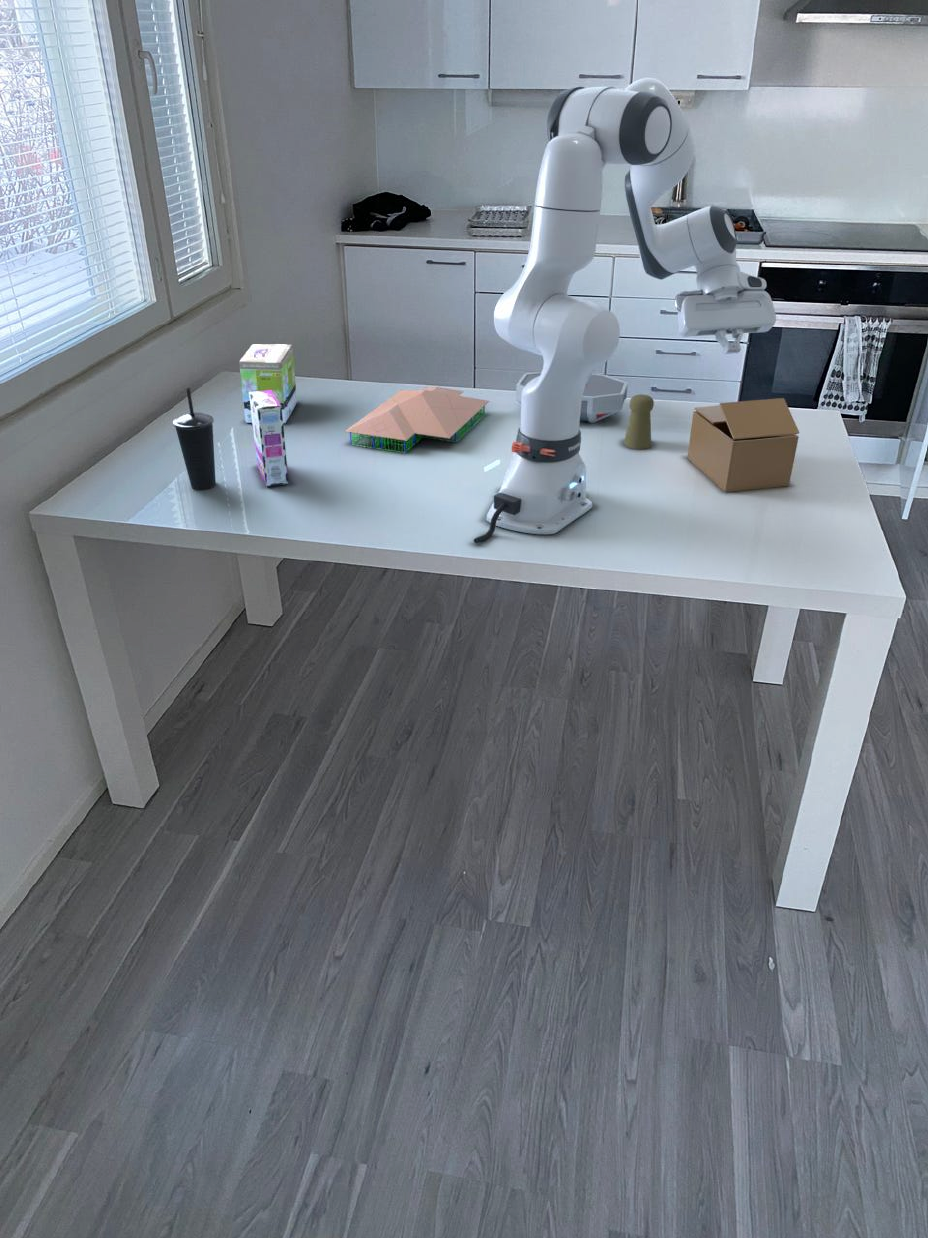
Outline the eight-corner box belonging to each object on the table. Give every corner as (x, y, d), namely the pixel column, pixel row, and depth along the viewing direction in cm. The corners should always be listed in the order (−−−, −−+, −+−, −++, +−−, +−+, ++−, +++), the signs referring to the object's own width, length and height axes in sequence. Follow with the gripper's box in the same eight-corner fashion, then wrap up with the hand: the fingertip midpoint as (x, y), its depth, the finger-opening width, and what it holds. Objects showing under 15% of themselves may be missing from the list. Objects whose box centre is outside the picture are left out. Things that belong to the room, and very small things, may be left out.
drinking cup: (189, 495, 184) (172, 397, 174) (180, 481, 190) (163, 385, 180) (227, 488, 187) (213, 390, 177) (217, 474, 193) (203, 379, 182)
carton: (788, 485, 189) (799, 432, 183) (725, 492, 186) (733, 438, 180) (746, 452, 204) (755, 402, 198) (687, 458, 201) (694, 407, 195)
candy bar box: (290, 484, 189) (282, 405, 180) (266, 487, 188) (256, 408, 179) (280, 464, 198) (272, 388, 189) (256, 467, 197) (247, 390, 188)
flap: (798, 433, 183) (799, 432, 183) (733, 439, 180) (734, 438, 180) (783, 399, 187) (783, 397, 187) (719, 404, 184) (719, 402, 184)
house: (493, 410, 226) (493, 377, 222) (441, 459, 200) (441, 423, 196) (406, 399, 233) (405, 366, 229) (345, 445, 207) (343, 409, 203)
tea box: (287, 424, 218) (281, 361, 210) (244, 423, 218) (236, 360, 210) (298, 402, 231) (292, 342, 223) (257, 402, 231) (250, 342, 223)
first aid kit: (511, 421, 220) (617, 431, 214) (512, 390, 216) (620, 399, 210) (527, 397, 234) (627, 406, 229) (528, 368, 230) (630, 376, 225)
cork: (654, 441, 209) (659, 393, 203) (647, 451, 204) (652, 402, 199) (628, 437, 211) (632, 389, 205) (620, 446, 207) (624, 398, 201)
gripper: (679, 283, 188) (690, 348, 186) (773, 279, 191) (785, 342, 189) (667, 299, 194) (678, 362, 192) (758, 294, 197) (770, 356, 195)
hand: (732, 352), depth 191 cm, fingers closed
